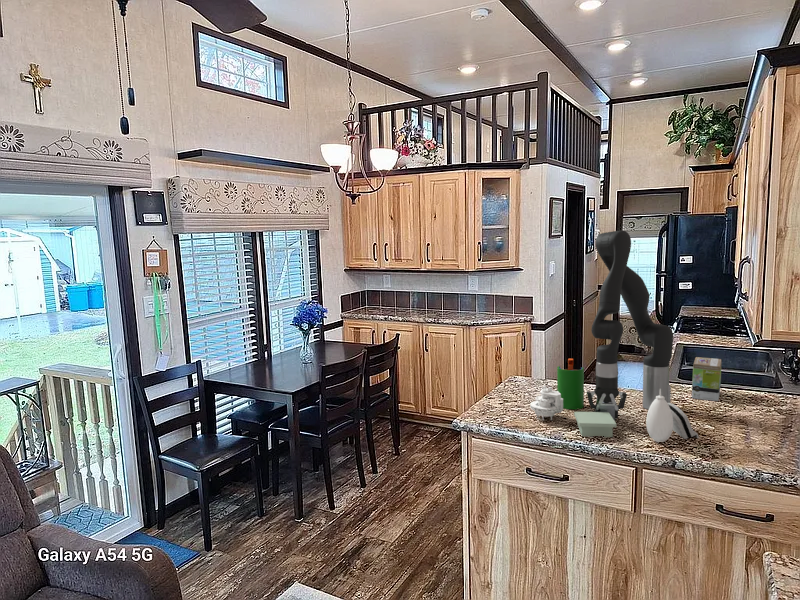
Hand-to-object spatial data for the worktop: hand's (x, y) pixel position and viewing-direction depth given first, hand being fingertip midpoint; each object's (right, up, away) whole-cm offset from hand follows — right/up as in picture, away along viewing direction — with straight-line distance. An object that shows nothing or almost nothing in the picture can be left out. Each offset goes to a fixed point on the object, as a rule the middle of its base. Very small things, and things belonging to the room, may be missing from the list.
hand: (606, 419), depth 196 cm
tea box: (+52, +4, +27) cm, 59 cm away
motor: (-7, +1, +19) cm, 21 cm away
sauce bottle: (+10, -3, -20) cm, 22 cm away
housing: (+1, -1, +2) cm, 3 cm away
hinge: (+21, -2, -10) cm, 23 cm away
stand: (-8, -2, -9) cm, 12 cm away
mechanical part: (-20, -1, +7) cm, 21 cm away
